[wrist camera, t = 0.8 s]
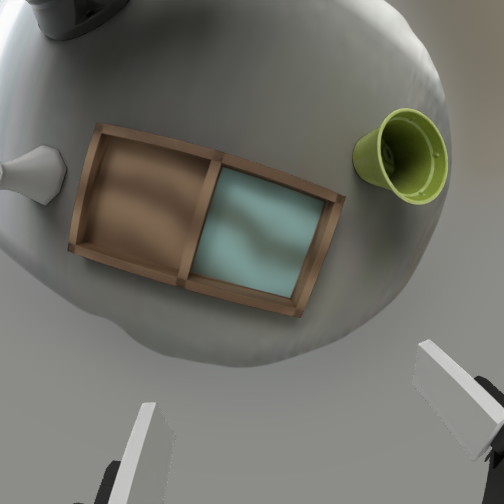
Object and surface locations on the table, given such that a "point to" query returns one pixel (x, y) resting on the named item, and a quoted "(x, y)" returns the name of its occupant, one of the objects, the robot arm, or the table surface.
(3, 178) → the flask
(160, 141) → the walnut caddy
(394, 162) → the plant pot
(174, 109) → the table surface
